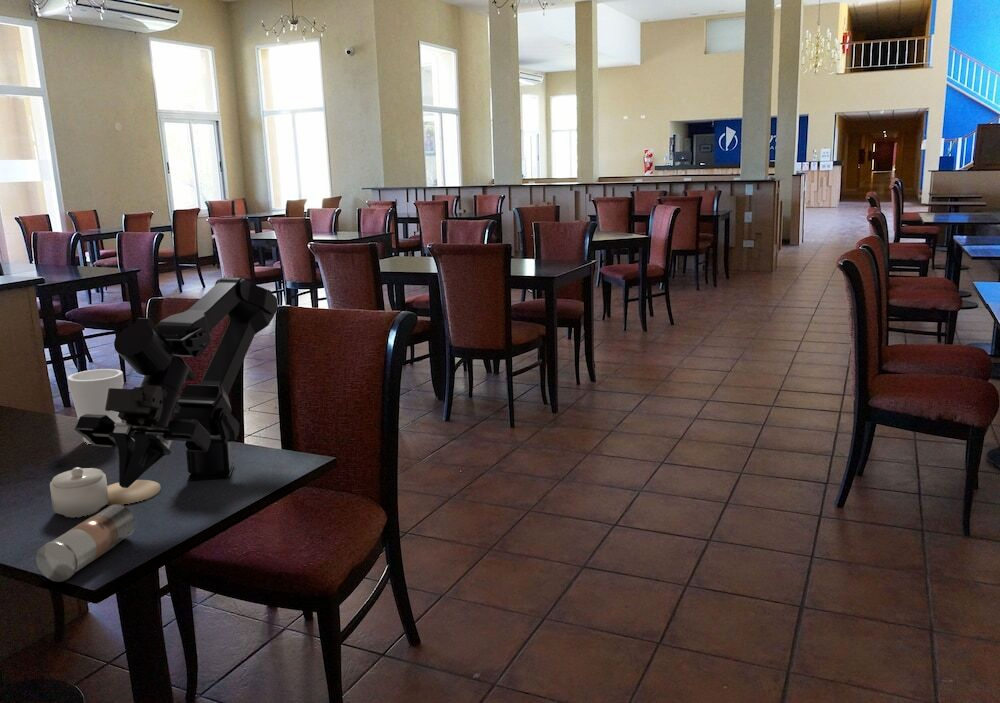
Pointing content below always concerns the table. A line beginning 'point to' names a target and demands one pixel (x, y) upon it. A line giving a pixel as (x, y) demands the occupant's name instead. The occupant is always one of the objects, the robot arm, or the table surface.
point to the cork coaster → (132, 492)
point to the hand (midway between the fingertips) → (123, 486)
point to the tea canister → (85, 543)
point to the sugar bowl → (79, 492)
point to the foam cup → (94, 391)
